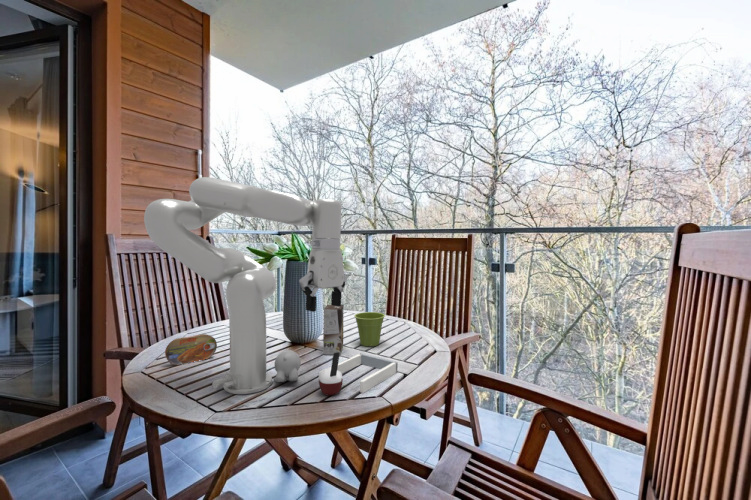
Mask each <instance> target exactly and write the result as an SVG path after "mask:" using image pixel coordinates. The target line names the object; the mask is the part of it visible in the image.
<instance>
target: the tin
mask: <svg viewBox="0 0 751 500" xmlns="http://www.w3.org/2000/svg"><path fill="white" fill-rule="evenodd" d="M217 348H218V343H217V340H216V339H215V338H214V336H212V335H210V334H205V333H201V334H195V335H190V336H185V337H179V338H175V339H173V340H172V341H170V342H169V343H168V345H167V346H166V347H165V351H164V355H165V358H166V360H167V361H168V363H169V364H172V365H174V366H178V365H177V364H181V363H187V362H193V363H195V362H194V361H197V362H200V361H199V360H202V361H206V360H208V359H210V358H211V357H213V356H214V354H215V353H216V351H217ZM205 359H206V360H205Z"/></svg>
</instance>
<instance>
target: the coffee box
mask: <svg viewBox="0 0 751 500" xmlns="http://www.w3.org/2000/svg"><path fill="white" fill-rule="evenodd" d="M322 331H323V335H322V337H323V338H322V339H323V341H322V344H323V345H322V346H323V348H322V349H323V350H322V355H326V356H327V355H330V356H331V355H332V356H333V354H334V353H337V352H339V353H340V355H341V354H342V351H343V350H344V349H343V348H344V304H341V306H340V307H338V306H333V305H331V304H327V305H326V306H325V307H324V309H323V330H322Z"/></svg>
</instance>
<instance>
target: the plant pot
mask: <svg viewBox="0 0 751 500" xmlns="http://www.w3.org/2000/svg"><path fill="white" fill-rule="evenodd" d="M353 317H354V318H355V321H356V325H357V331H358V337H359V343H360V345H361V346H363V347H376V346H379V344H380V341H381V335H382V334H381V333H382V327H383V323H384V318H385V317H386V315H385V314H384V313H382V312H375V311H366V312H364V311H363V312H358V313H355V314H354V315H353Z"/></svg>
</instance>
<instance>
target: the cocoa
mask: <svg viewBox="0 0 751 500" xmlns="http://www.w3.org/2000/svg"><path fill="white" fill-rule="evenodd" d="M340 355H341V354H340V353H339V352H337V353H334V354H333V355H332V361H331V366H330V367H331V368H330V367H326V368H323V369H321V370H320V371H319V372H318V385H319V389H320V391H321V393H322V394H324V395H325V396H335V395H338V394H339V392H340V391H341V390H342V387H343V373H341V372H340V371H337V368H338V364H339V363H340V362H339V360H340Z"/></svg>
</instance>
